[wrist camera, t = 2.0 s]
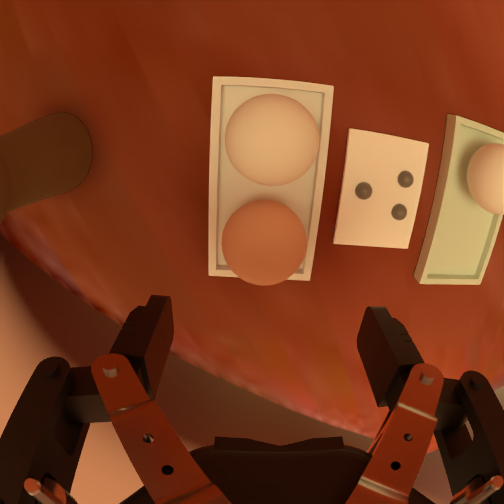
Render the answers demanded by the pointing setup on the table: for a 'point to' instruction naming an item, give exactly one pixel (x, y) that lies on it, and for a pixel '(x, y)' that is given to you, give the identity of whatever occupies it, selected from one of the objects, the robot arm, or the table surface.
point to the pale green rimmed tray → (458, 212)
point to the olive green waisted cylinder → (42, 160)
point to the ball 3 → (487, 177)
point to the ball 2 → (264, 242)
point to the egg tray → (244, 191)
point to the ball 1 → (272, 139)
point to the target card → (379, 189)
